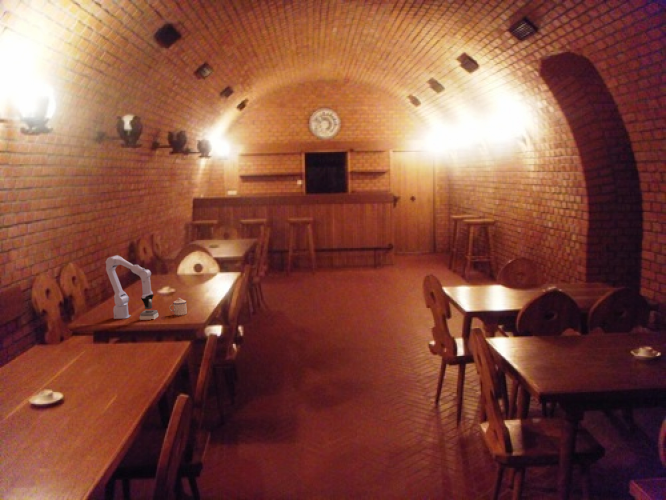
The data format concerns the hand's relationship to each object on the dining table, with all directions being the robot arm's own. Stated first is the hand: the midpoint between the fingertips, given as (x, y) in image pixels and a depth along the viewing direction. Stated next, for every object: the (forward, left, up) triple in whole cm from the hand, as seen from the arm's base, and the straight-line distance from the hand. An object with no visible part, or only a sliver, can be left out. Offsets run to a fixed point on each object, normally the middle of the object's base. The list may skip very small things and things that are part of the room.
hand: (148, 306), depth 412 cm
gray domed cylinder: (0, 0, -2) cm, 2 cm away
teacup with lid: (+18, +9, -9) cm, 22 cm away
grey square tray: (0, 0, -8) cm, 8 cm away
